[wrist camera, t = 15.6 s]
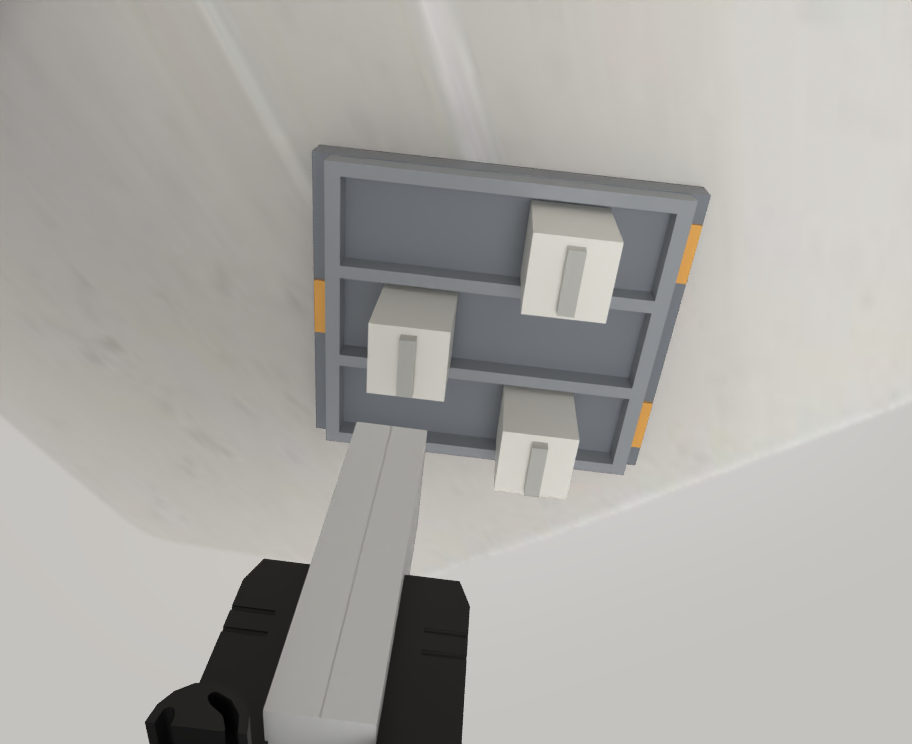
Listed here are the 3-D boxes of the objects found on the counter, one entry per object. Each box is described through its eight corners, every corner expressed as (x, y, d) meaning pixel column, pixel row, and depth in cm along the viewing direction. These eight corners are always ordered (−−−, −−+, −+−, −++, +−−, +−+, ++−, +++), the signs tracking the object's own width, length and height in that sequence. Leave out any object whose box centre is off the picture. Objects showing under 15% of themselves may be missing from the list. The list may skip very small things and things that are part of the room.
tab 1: (382, 346, 40) (364, 399, 35) (385, 282, 38) (366, 328, 33) (451, 354, 40) (443, 408, 35) (458, 290, 38) (449, 338, 33)
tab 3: (496, 437, 43) (493, 497, 38) (504, 381, 41) (502, 438, 36) (561, 444, 43) (567, 506, 38) (572, 389, 40) (580, 447, 36)
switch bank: (322, 414, 45) (311, 439, 43) (319, 144, 36) (305, 157, 34) (631, 450, 45) (638, 477, 42) (703, 187, 36) (716, 202, 34)
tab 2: (520, 273, 37) (520, 319, 32) (531, 199, 35) (533, 237, 30) (595, 281, 37) (607, 329, 32) (610, 208, 35) (625, 247, 30)
